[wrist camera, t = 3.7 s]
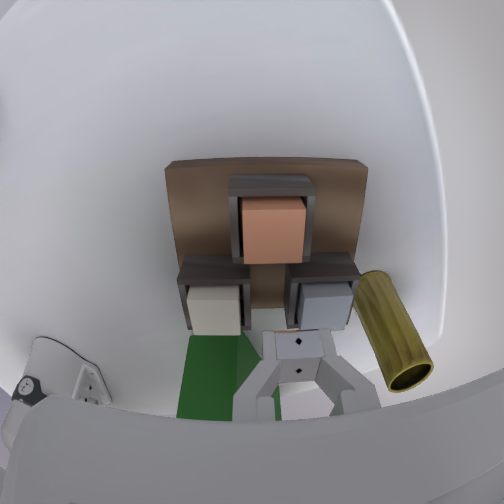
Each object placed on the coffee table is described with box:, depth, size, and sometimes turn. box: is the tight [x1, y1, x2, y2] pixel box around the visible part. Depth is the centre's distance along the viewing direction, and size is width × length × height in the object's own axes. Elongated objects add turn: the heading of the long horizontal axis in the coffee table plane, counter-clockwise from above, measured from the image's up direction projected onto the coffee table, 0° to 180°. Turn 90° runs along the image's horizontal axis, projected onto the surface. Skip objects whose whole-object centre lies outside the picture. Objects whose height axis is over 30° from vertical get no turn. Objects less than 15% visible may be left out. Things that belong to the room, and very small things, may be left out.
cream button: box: [187, 285, 241, 335], centre depth 26 cm, size 4×4×3 cm
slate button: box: [296, 281, 354, 331], centre depth 26 cm, size 4×4×3 cm
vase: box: [353, 271, 434, 393], centre depth 28 cm, size 6×6×14 cm
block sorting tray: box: [165, 157, 368, 330], centre depth 27 cm, size 16×18×7 cm
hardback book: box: [176, 330, 282, 421], centre depth 32 cm, size 18×7×24 cm, turn 22°
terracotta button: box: [242, 196, 306, 264], centre depth 22 cm, size 4×4×3 cm
